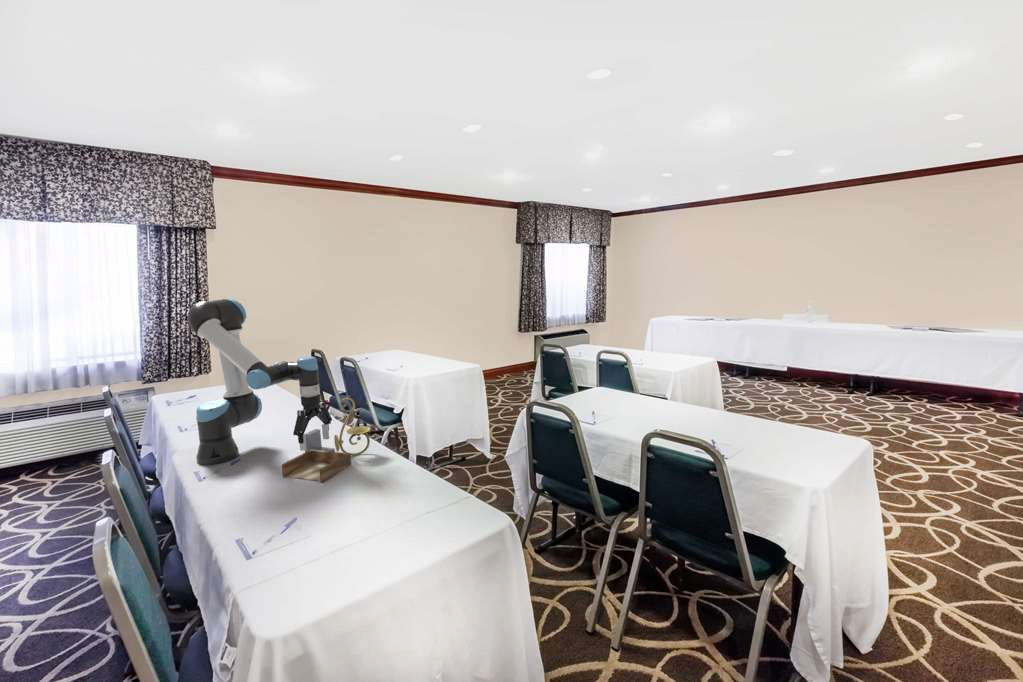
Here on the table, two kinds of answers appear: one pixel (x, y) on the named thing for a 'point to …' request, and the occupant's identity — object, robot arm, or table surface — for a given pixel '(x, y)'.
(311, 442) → the angle bracket
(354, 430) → the wall sconce
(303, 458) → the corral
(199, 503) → the table surface
